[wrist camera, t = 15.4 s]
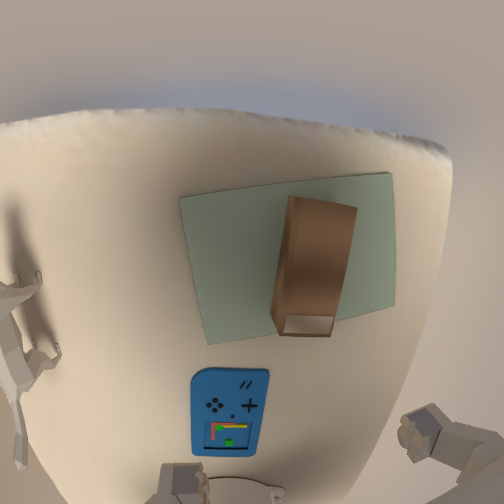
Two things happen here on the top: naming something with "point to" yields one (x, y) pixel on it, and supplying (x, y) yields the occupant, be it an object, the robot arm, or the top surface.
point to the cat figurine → (19, 361)
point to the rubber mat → (268, 250)
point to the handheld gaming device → (227, 411)
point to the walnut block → (311, 266)
